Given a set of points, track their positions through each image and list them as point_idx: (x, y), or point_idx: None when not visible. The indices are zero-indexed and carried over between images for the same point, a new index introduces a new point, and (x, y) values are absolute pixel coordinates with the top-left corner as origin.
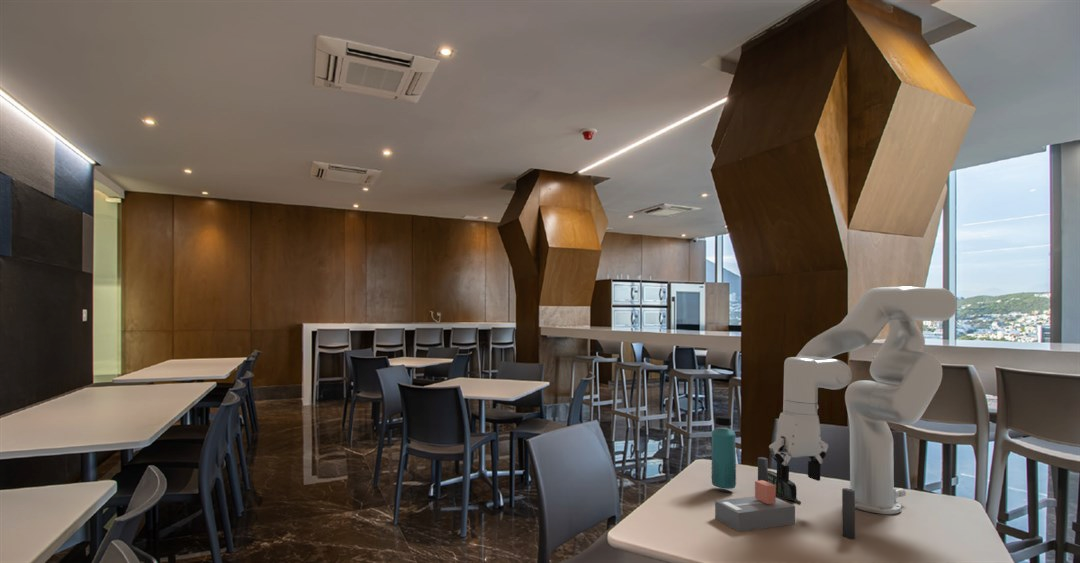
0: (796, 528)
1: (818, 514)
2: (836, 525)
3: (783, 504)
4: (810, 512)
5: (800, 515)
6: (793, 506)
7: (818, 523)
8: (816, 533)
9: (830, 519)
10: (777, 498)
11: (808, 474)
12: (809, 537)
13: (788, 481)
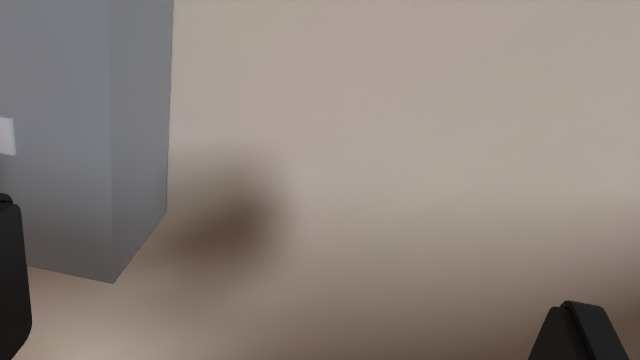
0: None
1: (498, 192)
2: (401, 340)
3: (44, 222)
4: (484, 140)
5: (345, 140)
6: (98, 278)
7: (324, 275)
8: (173, 337)
9: (474, 279)
10: (106, 105)
11: (557, 335)
12: (92, 343)
13: (25, 336)
